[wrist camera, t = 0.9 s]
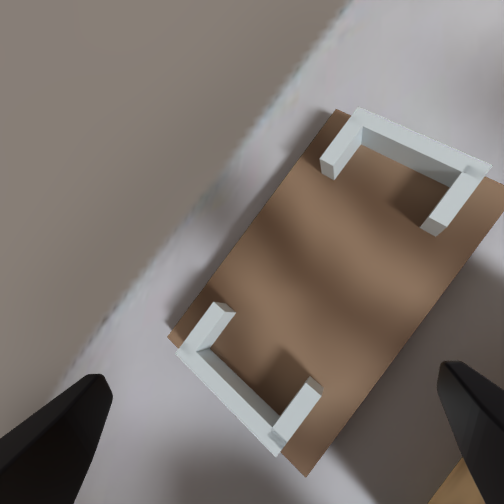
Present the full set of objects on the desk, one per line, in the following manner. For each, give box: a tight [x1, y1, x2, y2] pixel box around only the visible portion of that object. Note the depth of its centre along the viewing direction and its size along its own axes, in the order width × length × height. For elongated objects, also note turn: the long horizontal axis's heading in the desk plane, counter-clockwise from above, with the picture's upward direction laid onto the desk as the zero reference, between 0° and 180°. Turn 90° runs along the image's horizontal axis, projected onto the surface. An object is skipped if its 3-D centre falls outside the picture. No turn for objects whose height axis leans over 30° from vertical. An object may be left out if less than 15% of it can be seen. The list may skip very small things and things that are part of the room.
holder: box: [167, 107, 504, 477], centre depth 18 cm, size 20×12×3 cm, turn 143°
